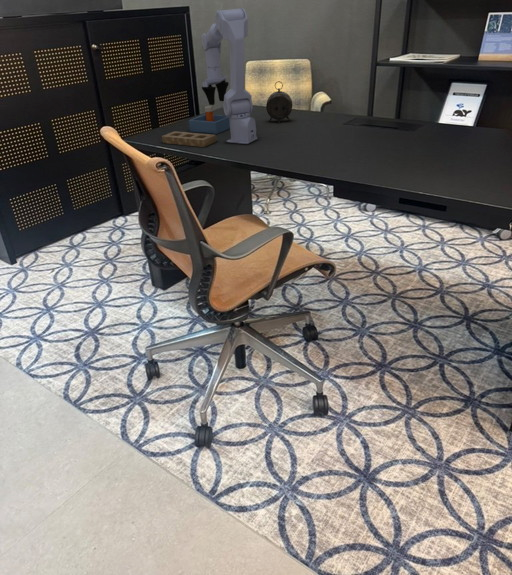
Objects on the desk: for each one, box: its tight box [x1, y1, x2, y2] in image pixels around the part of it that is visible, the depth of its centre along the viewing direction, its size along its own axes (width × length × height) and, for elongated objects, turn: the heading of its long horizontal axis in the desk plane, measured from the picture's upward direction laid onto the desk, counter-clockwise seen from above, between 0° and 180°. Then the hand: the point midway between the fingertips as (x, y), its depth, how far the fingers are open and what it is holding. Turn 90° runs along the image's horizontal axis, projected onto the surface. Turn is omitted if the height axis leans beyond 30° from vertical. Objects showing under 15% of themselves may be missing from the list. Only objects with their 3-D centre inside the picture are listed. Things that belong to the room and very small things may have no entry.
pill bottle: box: [204, 105, 214, 122], centre depth 208 cm, size 3×3×8 cm
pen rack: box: [161, 130, 217, 148], centre depth 194 cm, size 20×8×3 cm, turn 60°
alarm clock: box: [265, 81, 293, 123], centre depth 211 cm, size 11×5×16 cm, turn 84°
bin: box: [188, 113, 230, 135], centre depth 209 cm, size 14×12×5 cm
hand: (217, 102), depth 205 cm, fingers open, 7 cm apart
